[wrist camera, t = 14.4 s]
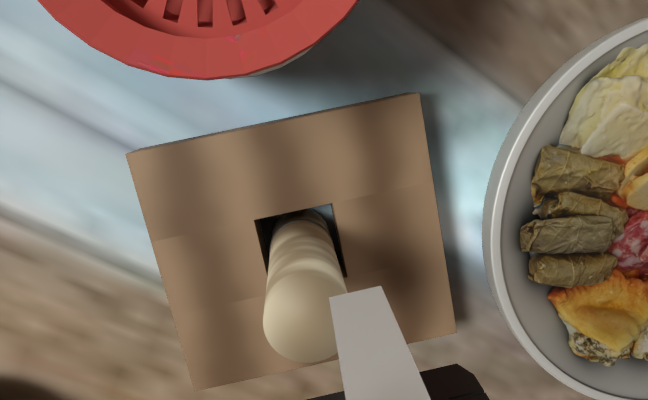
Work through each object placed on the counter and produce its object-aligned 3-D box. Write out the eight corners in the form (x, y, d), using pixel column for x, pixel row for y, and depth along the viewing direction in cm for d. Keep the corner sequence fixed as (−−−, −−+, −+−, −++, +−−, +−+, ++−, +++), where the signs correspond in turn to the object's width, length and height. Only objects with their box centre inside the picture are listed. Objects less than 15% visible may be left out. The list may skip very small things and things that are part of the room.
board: (407, 92, 37) (419, 92, 34) (442, 312, 41) (456, 332, 38) (140, 148, 37) (125, 154, 33) (202, 366, 40) (194, 391, 37)
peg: (323, 201, 38) (345, 268, 24) (334, 256, 39) (362, 352, 25) (265, 213, 38) (252, 288, 24) (278, 268, 39) (273, 372, 25)
